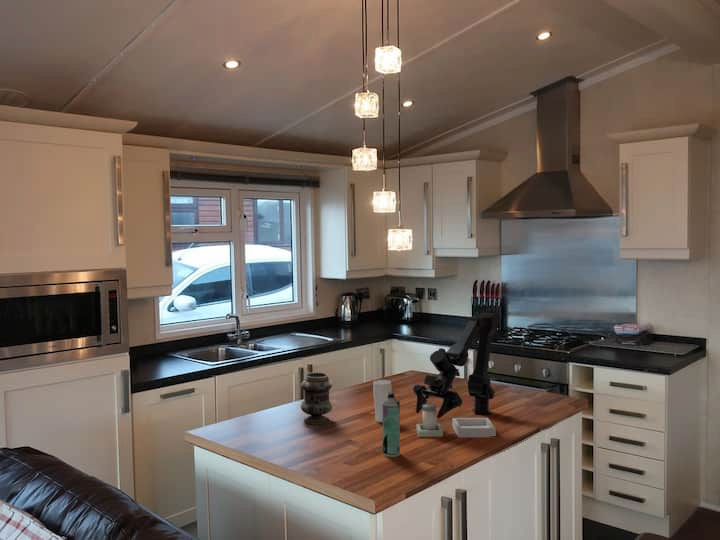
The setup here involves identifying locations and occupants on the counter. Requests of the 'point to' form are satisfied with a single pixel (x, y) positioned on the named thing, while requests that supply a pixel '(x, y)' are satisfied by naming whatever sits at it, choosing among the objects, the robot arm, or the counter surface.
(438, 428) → the holder ring
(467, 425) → the parts tray
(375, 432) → the counter surface
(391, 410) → the spray can
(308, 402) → the apothecary jar
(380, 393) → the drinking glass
